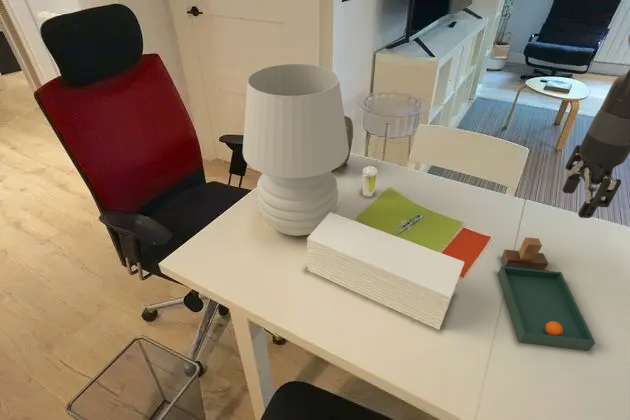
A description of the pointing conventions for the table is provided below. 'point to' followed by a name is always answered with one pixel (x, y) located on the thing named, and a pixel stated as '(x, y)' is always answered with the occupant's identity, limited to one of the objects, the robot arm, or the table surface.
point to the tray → (543, 308)
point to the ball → (553, 328)
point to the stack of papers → (384, 268)
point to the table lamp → (295, 143)
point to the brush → (526, 256)
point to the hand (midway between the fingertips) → (575, 203)
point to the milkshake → (369, 180)
